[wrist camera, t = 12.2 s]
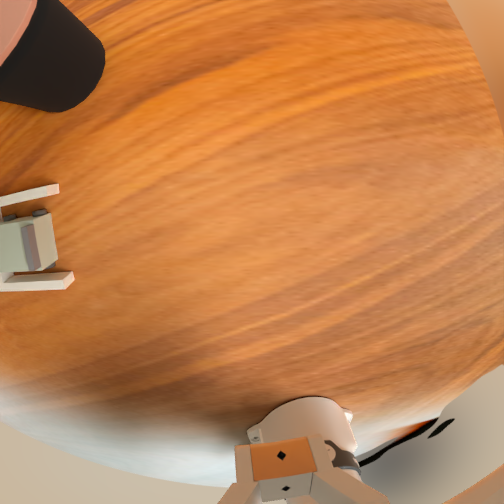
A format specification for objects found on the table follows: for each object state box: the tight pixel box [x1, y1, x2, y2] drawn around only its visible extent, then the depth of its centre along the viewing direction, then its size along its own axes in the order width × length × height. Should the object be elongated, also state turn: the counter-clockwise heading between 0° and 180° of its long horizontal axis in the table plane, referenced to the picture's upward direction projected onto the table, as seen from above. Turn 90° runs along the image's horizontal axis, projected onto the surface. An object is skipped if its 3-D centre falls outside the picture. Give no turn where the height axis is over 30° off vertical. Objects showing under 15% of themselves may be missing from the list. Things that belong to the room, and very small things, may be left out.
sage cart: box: [0, 209, 58, 273], centre depth 28 cm, size 7×8×6 cm
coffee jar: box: [0, 0, 105, 112], centre depth 17 cm, size 11×11×18 cm
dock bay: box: [0, 183, 75, 292], centre depth 29 cm, size 12×12×3 cm
